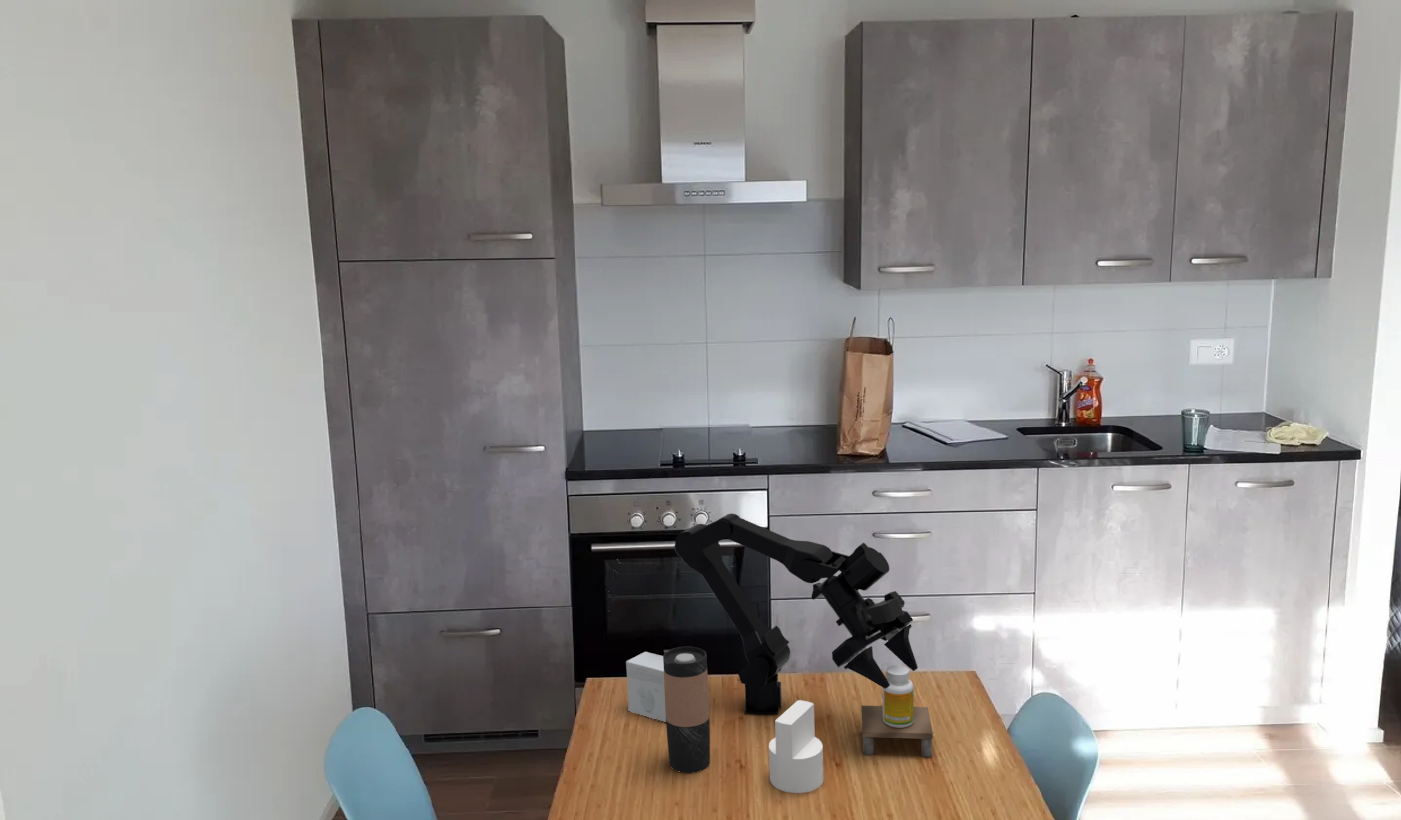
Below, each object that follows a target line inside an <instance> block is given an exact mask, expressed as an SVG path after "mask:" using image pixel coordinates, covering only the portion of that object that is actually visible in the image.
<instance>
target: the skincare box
mask: <svg viewBox="0 0 1401 820" xmlns="http://www.w3.org/2000/svg"><path fill="white" fill-rule="evenodd" d="M663 656H664V655H659V654H656V653H651V652H648V651H644V652H642V653H640V654H638V655H636V656H635V657H632V658H630V659H627V660H626V661H625V665H626V666H625V667H626V682H627V702H628V705H627V706H628V707H627V708H628V709H627V710H628V711H631V712H634V713H637V714H640V715H639V716H641V715H643V716H642V717H644V716H647V717H649V718H648V719H651V718H652V719H651V720H654V719H658V720H661V721H664V722H666V714H665V689H664V663H663ZM631 712H630V713H631ZM634 713H633V714H634ZM637 714H636V715H637ZM647 717H646V718H647ZM658 720H657V721H658ZM661 721H660V722H661ZM664 722H663V723H664Z"/></svg>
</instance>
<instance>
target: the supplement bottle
mask: <svg viewBox="0 0 1401 820" xmlns="http://www.w3.org/2000/svg"><path fill="white" fill-rule="evenodd" d="M885 671H886V672H885V673H886V674H885V677H886V679H887V681H888V683H889V684H890V686H889V687H888V688H886V689H885V688H883V687H881V688H882V706H883V721H884V723H885V724H887V725H889V726H891V727H895V728H904V727H908V726H910V725H912V724H913V721H914V707H915V706H914V704H915V703H914V684H913V682H912V680H910V668H909V667H906V666H903V665H892V666H888V667H887V668H886V670H885Z"/></svg>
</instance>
